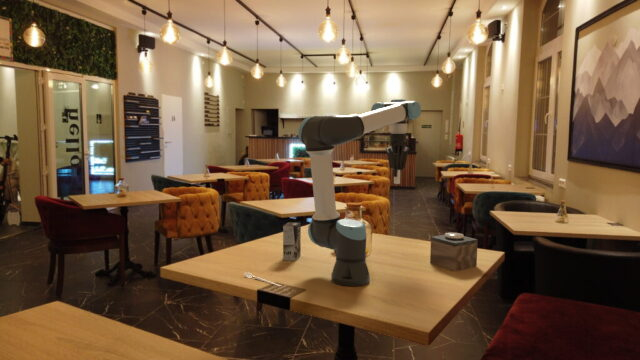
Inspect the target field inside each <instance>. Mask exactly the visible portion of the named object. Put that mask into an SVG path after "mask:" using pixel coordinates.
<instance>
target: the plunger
mask: <svg viewBox="0 0 640 360" xmlns="http://www.w3.org/2000/svg"><path fill="white" fill-rule="evenodd" d="M444 235H445V238H446V239H451V240H462V239H464V236H465V235H464V234H463V233H459V232H445V233H444Z"/></svg>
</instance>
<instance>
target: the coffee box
mask: <svg viewBox="0 0 640 360" xmlns="http://www.w3.org/2000/svg"><path fill="white" fill-rule="evenodd" d="M301 224H302V222H298V221H297V222H292V221H291V222H289V221H287V223H285V224H284V225H282V229H283V231H282V238H283V239H282V260H283V261H291V262H293V261H294V262H296V261H298V260H299V258H300V257H301V252H302V247H301V246H302V243H301V242H302V241H301V237H302V236H301V235H302V234H301V233H302V232H301V230H302V229H301V228H302V226H301Z"/></svg>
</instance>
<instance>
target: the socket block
mask: <svg viewBox="0 0 640 360" xmlns="http://www.w3.org/2000/svg"><path fill="white" fill-rule="evenodd" d="M478 241H479V240H478V239H477V238H474V237H473V238H472V237H469V236H465V235H464V239H462V240H451V239H446V238H445V234H441V235H440V234H439V235H435V236H434V235H433V236H431V237H430V255H429V257H430V259H429V263H430V264H433V265H435V266H439V267H441V268H443V269H447V270H450V271H453V272H457V271H460V270H466V269H470V268H475V267H477V263H478V262H477V261H478V244H479V243H478Z"/></svg>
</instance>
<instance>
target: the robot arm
mask: <svg viewBox="0 0 640 360" xmlns="http://www.w3.org/2000/svg"><path fill="white" fill-rule="evenodd" d="M421 114H422V107H421V104H420V103H419V102H418V101H417V100H406V99H403V98H400V99H399V98H396V99H395V98H394V99H391V100H390V102H382V101H381V102H375V103H374V104H372V106H371V110H370V111H367V112H365V113H362V114H357V113H352V114H348V115H347V114H346V115H313V116H309V117H306V118H304V119H303V120H302V122H301V123H300V125H299V128H298V130H297V131H298V133H297V134H298V139H299V141H300V142H301V144H303V145H304V148H305V152H306V153H307V155H309V158H310V159H309V160H310V168H311V169H310V170H311V172H310V173H311V182H312V191H313V200H314V201H313V202H314V210H315V212H314V214H312V216H311V218H312V219H311V220H310V222H309V225H308V227H307V234H308V237H309V239H310V241H311V242H312V243H313V244H314V245H317V246H318V247H321V248H326V249H329V250H333V251H335V263H334V266H333V269H332V272H331V279H330V280H331V282H332V283H333V284H336V285H339V286H344V287H345V286H346V287H359V286H366V285H367V284H369V283H370V281H371V275H370V271H369V268H368V265H367V261H366V260H367V259H366V258H367V257H366V254H367V228H366V225H365V223H364V222H362V221H359V220H356V219H350V218H343V219H341V213H340V212H338V210H337V206H336V205H337V203H336V194H335V193H336V192H335V183H334V182H335V181H334V171H333V169H334V168H333V161H332V160H333V159H332V153H333V152H334V150H335V149H336V148H335V147H336V146H340V145H343V144H347V143H349V142H353V141H355V140H358V139H360V138H362V137H363V136H364V135H365V134H367V133H368V134H369V133H370V132H373V131H376V130H379V129H382V128H385V127H389V133H390V134H389V142H390V144H389V147H386V148H385V152H386V154H387V159H388V164H389V165H388V166H389V169H391V170H392V176H393V184H394V185H401V177H402V171H403V170H404V169H405V168H406V163H407V159H408V156H409V155H408V154H409V152H410V151H411V150H410V147H407V145H406V142H407V129H408V127H407V126H408V125H407V124H408V123H407V120H416V119H418V118H419V117H421Z"/></svg>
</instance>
